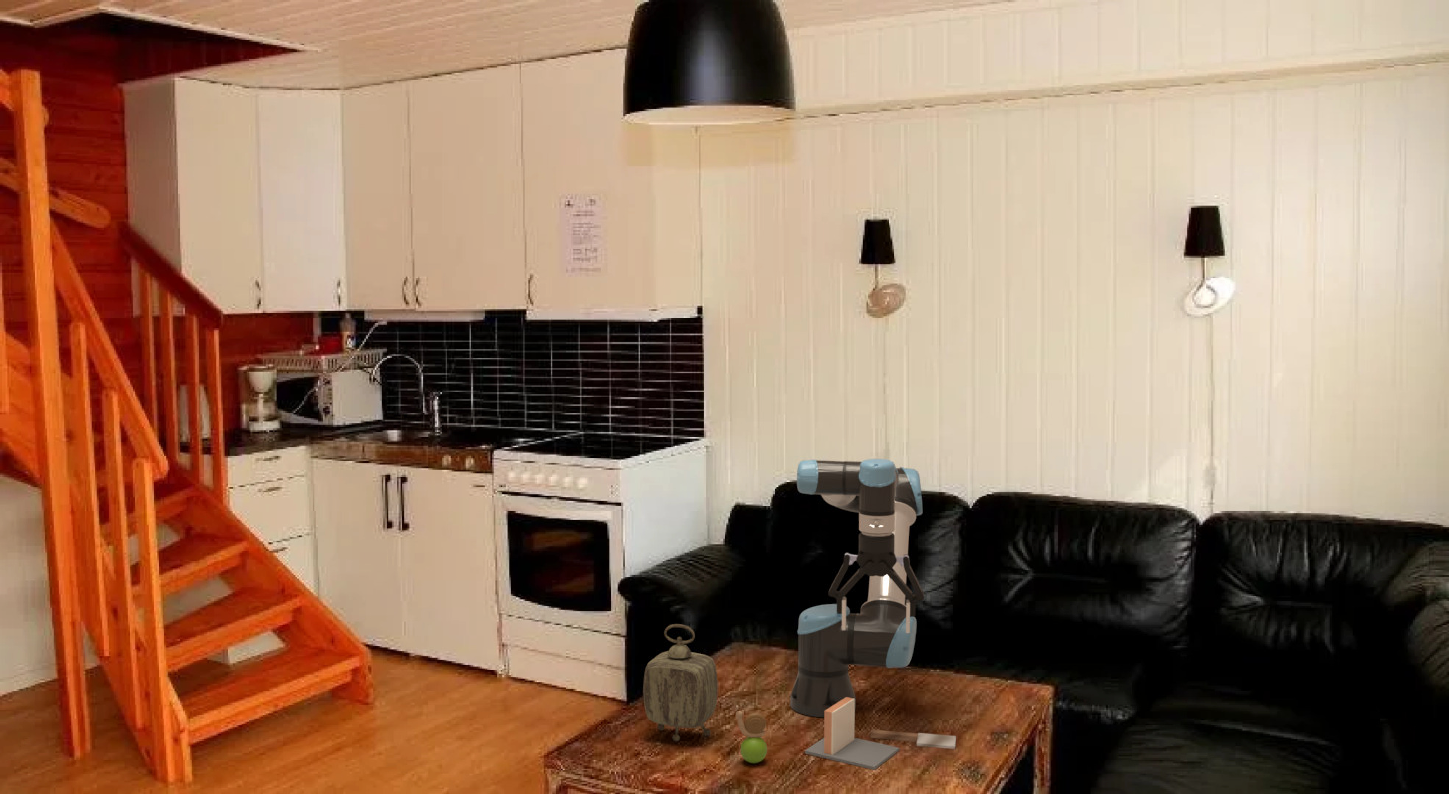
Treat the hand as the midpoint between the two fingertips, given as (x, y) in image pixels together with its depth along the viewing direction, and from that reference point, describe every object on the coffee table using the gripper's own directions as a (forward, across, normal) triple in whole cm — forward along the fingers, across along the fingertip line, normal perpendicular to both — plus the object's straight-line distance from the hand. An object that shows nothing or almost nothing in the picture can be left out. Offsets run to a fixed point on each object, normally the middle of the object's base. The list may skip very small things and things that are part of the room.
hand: (875, 630), depth 258 cm
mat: (+24, -4, -9) cm, 26 cm away
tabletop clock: (+24, -42, -7) cm, 48 cm away
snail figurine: (+24, -24, -18) cm, 39 cm away
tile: (+23, -7, -8) cm, 25 cm away
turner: (+24, +8, 0) cm, 25 cm away
